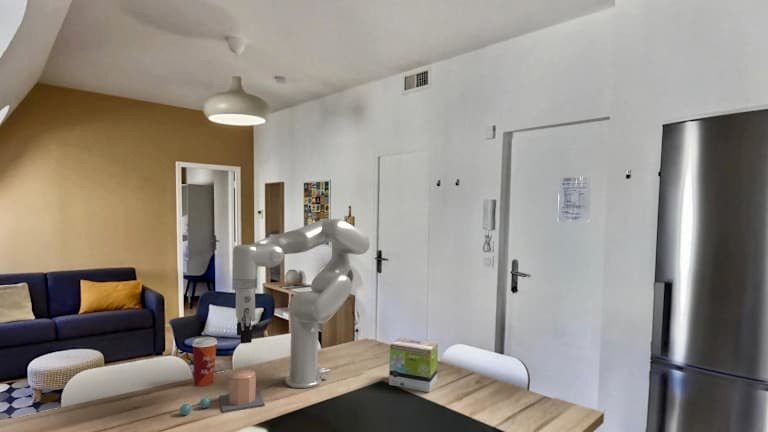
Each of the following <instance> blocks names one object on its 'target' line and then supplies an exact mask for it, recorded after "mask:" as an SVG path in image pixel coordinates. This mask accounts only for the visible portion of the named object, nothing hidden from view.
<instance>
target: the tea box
mask: <svg viewBox="0 0 768 432" xmlns="http://www.w3.org/2000/svg"><path fill="white" fill-rule="evenodd" d="M389 345H390V346H389V373H388V375H389V376H388V379H389V380H388V381H389V383H388V385H389V386H396V387H400V388H406V389H411V390H416V391H420V392H425V393H430V392H431V391H432V389H433V388H434V387H435V386H436V385H437V383H438V355H439V354H438V352H439V350H438V349H439V347H438V346H439V343H438V342H433V341H424V340H421V339H419V340H418V339H412V338H405V337H399V338H397V339H396V340H394V341H393V342H392V343H390V344H389ZM434 385H435V386H434Z"/></svg>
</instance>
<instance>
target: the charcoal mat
mask: <svg viewBox="0 0 768 432" xmlns="http://www.w3.org/2000/svg"><path fill="white" fill-rule="evenodd" d="M228 399H229V393H227V394H222V395H219V400H220V405H221V410H222V413H228V412H229V413H230V412H235V411H243V410H249V409H253V408H255V409H256V408H261V407H265V405H266V404H265V402H264V399H263V397H262V395H261V392H260V390H259V389H255V400H254V401H252V402H251V403H249V404H243V405H234V404H229V400H228Z"/></svg>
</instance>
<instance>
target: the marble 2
mask: <svg viewBox="0 0 768 432" xmlns="http://www.w3.org/2000/svg"><path fill="white" fill-rule="evenodd" d="M211 402H212V401H211V399H210V397H202V399H201V400H200V402H199V406H200V408H202V409H208V408H209V407H210V405H211V404H212V403H211Z"/></svg>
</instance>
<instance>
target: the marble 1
mask: <svg viewBox="0 0 768 432" xmlns="http://www.w3.org/2000/svg"><path fill="white" fill-rule="evenodd" d="M191 411H192V405H190V404H189V403H184V404H182V405H181V406H180V408H179V413H180V414H181V415H183V416H187V415H189V414H190V413H191Z"/></svg>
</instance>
